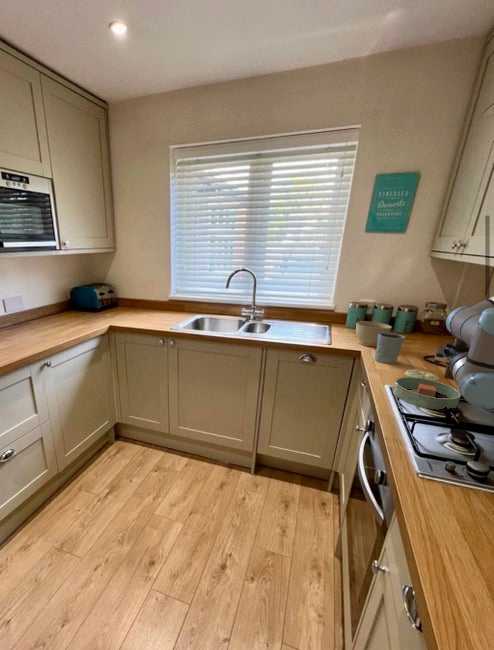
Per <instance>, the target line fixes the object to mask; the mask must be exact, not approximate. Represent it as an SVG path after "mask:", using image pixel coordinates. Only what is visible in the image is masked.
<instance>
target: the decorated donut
mask: <svg viewBox="0 0 494 650" xmlns="http://www.w3.org/2000/svg"><path fill="white" fill-rule="evenodd" d="M403 375H404V377H417V378H424V379H429V380H433V381H437V382H439V381H440V380H439V379H440V378H439V376H438V375H437V374H435V373H432V372H429V371H426V370H420V369H408V370H406V371H405V372H404V373H403Z"/></svg>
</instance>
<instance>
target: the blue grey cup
mask: <svg viewBox="0 0 494 650" xmlns="http://www.w3.org/2000/svg"><path fill="white" fill-rule="evenodd" d="M405 340H406V336H404V335H401V334H398V333H392V332H389V333H379V335H378V342H377V347H375V348H376V349H375V354H374V360H375V361H376V362H378V363H382V364H386V363H387V364H388V365H393V364H396V363H397V361H398V357H399V355H400V352H401V349H402V346H403V345H404V343H405Z"/></svg>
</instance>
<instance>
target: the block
mask: <svg viewBox="0 0 494 650" xmlns="http://www.w3.org/2000/svg"><path fill="white" fill-rule="evenodd" d="M417 393H418V394H421V395H425V396H430V397H434V396H435V393H436V389H435V386H429V385H424V384H419V386H418V390H417Z"/></svg>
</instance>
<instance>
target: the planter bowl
mask: <svg viewBox="0 0 494 650" xmlns="http://www.w3.org/2000/svg"><path fill="white" fill-rule="evenodd" d="M391 330H392V326H391V325H389V324H386V323H382V322H376V321H368V320H367V321H366V320H365V321H364V320H362V321H357V322H356V323H355V334H356V337H357V339H358V343H359V345H362V346H366V347H373V348H374V347H375V348H377V342H378V335H379V333H391Z"/></svg>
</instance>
